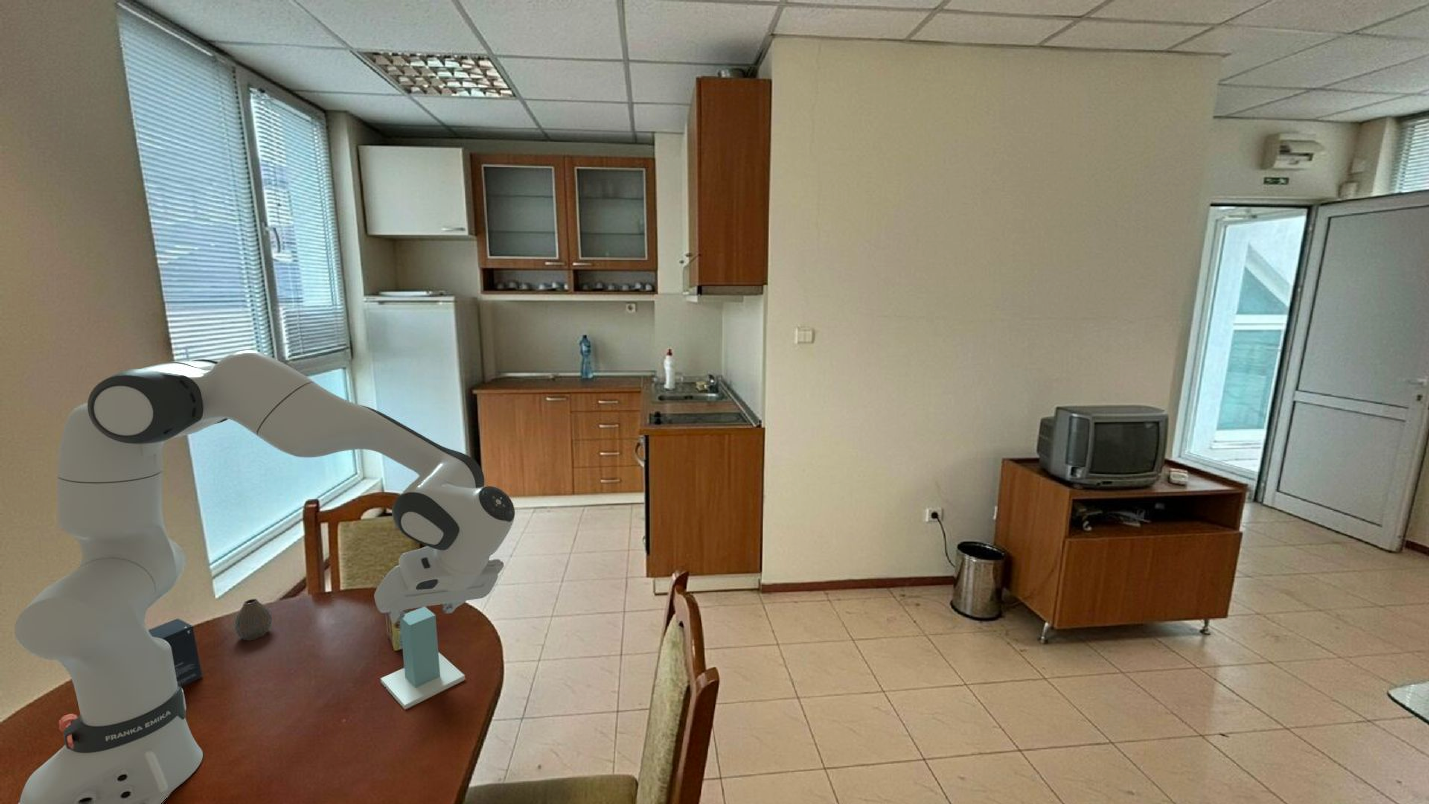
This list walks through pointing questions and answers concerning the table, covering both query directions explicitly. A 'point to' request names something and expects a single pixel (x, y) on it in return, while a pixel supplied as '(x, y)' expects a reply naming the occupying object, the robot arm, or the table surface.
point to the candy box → (394, 629)
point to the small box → (181, 649)
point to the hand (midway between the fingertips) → (421, 614)
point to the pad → (412, 695)
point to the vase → (252, 620)
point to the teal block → (420, 646)
